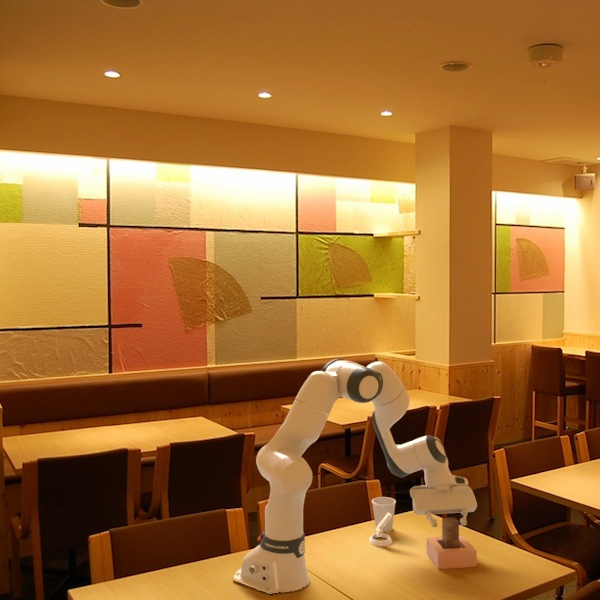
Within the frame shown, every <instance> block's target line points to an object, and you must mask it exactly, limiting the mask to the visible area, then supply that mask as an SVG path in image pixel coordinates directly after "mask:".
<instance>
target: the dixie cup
mask: <svg viewBox="0 0 600 600" xmlns="http://www.w3.org/2000/svg"><path fill="white" fill-rule="evenodd" d="M371 503H372V509H373V515H374V523H375V525H374V526H375V528H376V527H377V526H378V525H379V523H380V522H381V521H382V520H383V518H384V517H385V516H386V514H387V513H390V514H391V515H392V517H391V519H390V520H389V522H388V523H387V524H386V525H385V526H384V528H383V533H388V531H389V532H391V531H392V530H393V529H394V528H393V526H394V518H395V517H394V516H395V509H396V508H395V507H396V503H397V500H396V499H394V498H392V497H387V496H379V497H375V498H372V499H371Z"/></svg>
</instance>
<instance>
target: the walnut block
mask: <svg viewBox="0 0 600 600" xmlns="http://www.w3.org/2000/svg"><path fill="white" fill-rule="evenodd" d="M441 521H442V523H441V524H442V526H441V531H442V534H441V535H442V536H441V537H442V548H443V549H453V548H459V536H460V520H458V519H457V518H456V517H453V516H451V517H442V519H441Z"/></svg>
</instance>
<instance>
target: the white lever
mask: <svg viewBox="0 0 600 600" xmlns="http://www.w3.org/2000/svg"><path fill="white" fill-rule="evenodd" d="M391 517H392V515H391V514H390V513H387V514H386V516H385V517H384V518H383V520H382V521H381V522H380V523H379V525H378V526H377V527H376V526H375V533H374V534H372V535H370V537H369V539H368V543H369V542H370V543H371V544H370V543H369V544H370V545H372V544H373V545H372V546H375V545H376V547H386V546H390V545H392V543H393V540H392V538H391V536H390V535H388V534H387V533H384V532H383V528H384V526H385V525H386V524H387V523H388V522H389V520H390V519H391ZM377 537H382V538H381V539H383V540H381V539H378V538H377ZM373 538H374V539H373ZM386 538H387V539H386Z"/></svg>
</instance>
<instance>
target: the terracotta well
mask: <svg viewBox="0 0 600 600" xmlns="http://www.w3.org/2000/svg"><path fill="white" fill-rule="evenodd" d="M477 553H478V552H477V549H476V548H475V547H474V546H473V544H471V543H470V541H469V540H468V539H467V538H466V537H465V536H464V535H459V548H453V549H443V548H442V536H433V537H429V536H428V537H426V555H428V557H429V558H430V560H431V561H432V562H433V564H434V566H435V567H436V568H437V570H443V569H444V570H445V569H447V570H448V569H461V568H477V565H478V564H477V562H478V560H477V559H478V558H477Z"/></svg>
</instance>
